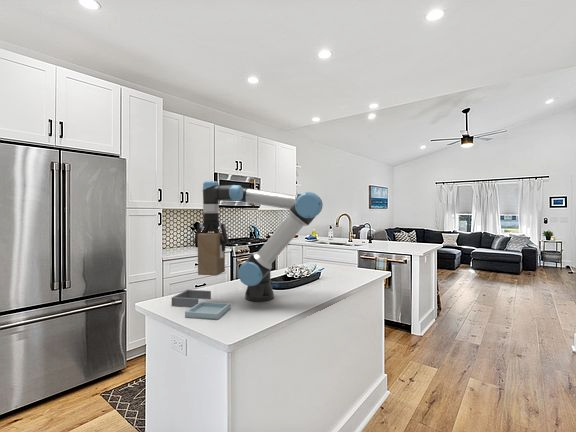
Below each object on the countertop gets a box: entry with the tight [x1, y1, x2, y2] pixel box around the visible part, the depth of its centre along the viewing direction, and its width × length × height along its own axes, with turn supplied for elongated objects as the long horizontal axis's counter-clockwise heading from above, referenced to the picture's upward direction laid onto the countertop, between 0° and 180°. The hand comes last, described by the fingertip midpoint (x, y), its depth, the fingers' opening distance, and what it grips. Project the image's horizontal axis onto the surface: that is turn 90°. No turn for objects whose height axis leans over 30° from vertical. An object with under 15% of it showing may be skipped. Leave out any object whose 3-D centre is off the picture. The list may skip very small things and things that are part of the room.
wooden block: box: [197, 231, 226, 277], centre depth 154 cm, size 10×10×20 cm
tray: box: [184, 301, 232, 321], centre depth 140 cm, size 15×15×2 cm
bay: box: [171, 289, 212, 308], centre depth 156 cm, size 14×15×4 cm
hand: (211, 257), depth 154 cm, fingers closed on wooden block, 10 cm apart
